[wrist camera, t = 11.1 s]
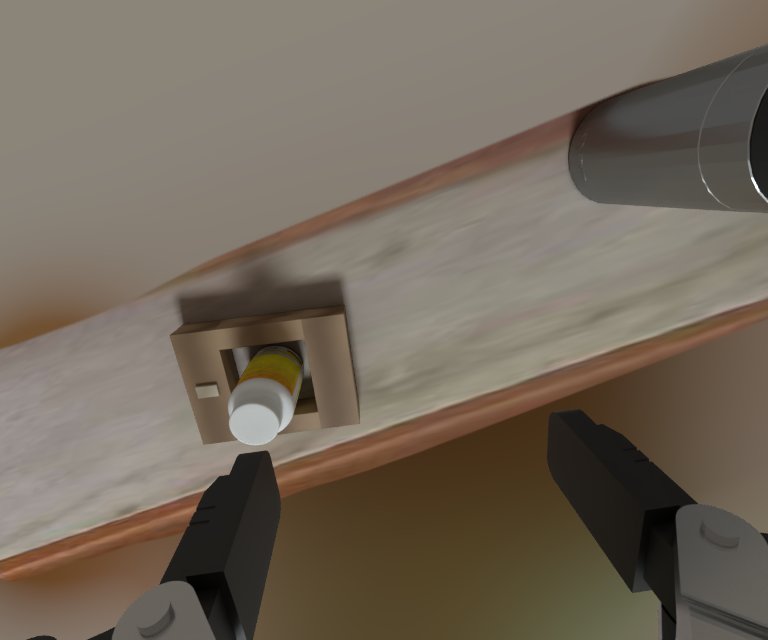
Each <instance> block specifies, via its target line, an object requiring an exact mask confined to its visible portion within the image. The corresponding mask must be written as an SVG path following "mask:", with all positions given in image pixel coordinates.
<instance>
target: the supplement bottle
mask: <svg viewBox="0 0 768 640" xmlns="http://www.w3.org/2000/svg"><path fill="white" fill-rule="evenodd" d="M303 375H304V368H303V364H302V361H301V360H300V358H299V357H298V355H297V354H296V353H295V352H293V351H292V350H290V349H288V348H286V347H282V346H269V347H266V348H263V349H261V350H260V351H258V352H257V353H256V354H255V355H254V356H253V358H252V359H251V361H250V363H249V364H248V366H247V368H246V369H245V371H244V373H243V375H242V376H241V378H240V380H239V382H238V383H237V385H236V386H235V388H234V390H233V392H232V393H231V396H230V398H229V401H228V412H229V416H230V419H229V427H230V430H231V432H232V434H233V435H234V436H235V437H236V438H237V439H238V440H239V441H241V442H243V443H245V444H249V445H261V444H265V443H267V442H269V441H271V440H272V439H273V438H274V437H275V436H276V435H277V433H278V432H280V431H282V430H283V429H284V428H285V427H286V426H287V425H288V424H289V423H290V421H291V419H292V417H293V414H294V411H295V407H296V403H297V399H298V395H299V392H300V388H301V384H302V380H303Z"/></svg>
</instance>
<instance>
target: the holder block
mask: <svg viewBox="0 0 768 640" xmlns="http://www.w3.org/2000/svg"><path fill="white" fill-rule="evenodd" d="M170 339H171V342H172V345H173V348H174V351H175V355H176V358H177V361H178V364H179V368H180V371H181V374H182V377H183V380H184V384H185V387H186V390H187V393H188V396H189V400H190V403H191V406H192V409H193V412H194V416H195V419H196V422H197V425H198V428H199V432H200V435H201V438H202V441H203V444H204V445H205V444H213V443H220V442H227V441H235V440H238V439H237V438H236V437H235V436H234V435H233V434H232V432H231V430H230V427H229V419H230V416H229V412H228V401H229V398H230V396H231V393H232V392H233V390H234V388H235V386H236V385H237V383H238V382H239V376H238V372H237V368H236V364H235V360H234V356H233V352H232V349H231V348H239V347H247V346H255V345H263V344H271V343H279V342H287V341H295V340H303V339H305V344H306V350H307V355H308V360H309V366H310V371H311V376H312V382H313V387H314V392H315V398H309V399H301V400H297V403H296V407H295V411H294V414H293V417H292V419H291V421H290V423H289V424H288V425H287V426H286V427H285V428H284V429H283V430H282V431H280V432H278V433H277V435H279V434H287V433H294V432H302V431H309V430H316V429H324V428H331V427H339V426H346V425H353V424H360V410H359V401H358V395H357V388H356V381H355V374H354V367H353V360H352V353H351V346H350V339H349V333H348V326H347V319H346V312H345V305H339V306H331V307H323V308H315V309H307V310H299V311H290V312H282V313H274V314H266V315H258V316H250V317H241V318H233V319H225V320H217V321H209V322H201V323H192V324H184V325H182V326H181V327H180V328H178V329H177V330H176V331H175V332H173V333H172V334H171V335H170Z"/></svg>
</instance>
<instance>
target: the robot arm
mask: <svg viewBox="0 0 768 640" xmlns="http://www.w3.org/2000/svg"><path fill="white" fill-rule="evenodd" d="M569 169H570V173H571V177H572V180H573V182H574V183H575V185H576V187H577V189H578V190H579V191H580V192H581V193H582V194H583V195H584V196H586V197H587V198H589V199H590V200H592V201H595V202H598V203H605V204H620V205H634V206H651V207H668V208H685V209H703V210H720V211H737V212H759V213H768V44H765V45H763V46H760V47H757V48H754V49H751V50H748V51H745V52H743V53H740V54H737V55H734V56H731V57H728V58H726V59H723V60H720V61H717V62H714V63H711V64H708V65H706V66H703V67H700V68H697V69H694V70H691V71H688V72H686V73H683V74H680V75H677V76H674V77H671V78H668V79H666V80H663V81H660V82H657V83H654V84H651V85H648V86H646V87H642V88H639V89H637V90H634V91H631V92H628V93H625V94H623V95H620V96H617V97H614V98H611V99H609V100H606V101H605V102H603V103H601V104H599V105H598V106H596V107H595V108H594V109H593V110H592V111H591V112H589V113H588V114H587V116H586V117H585V118H584V119H583V121H582V122H581V123H580V125H579V127H578V129H577V130H576V132H575V134H574V137H573V140H572V143H571V146H570V153H569ZM547 460H548V466H549V469H550V472H551V475H552V477H553V479H554V480H555V482H556V484H557V485H558V486H559V488H560V489H561V491H562V492H563V494H564V495H565V496H566V498H567V499H568V501H569V502H570V504H571V505H572V507H573V508H574V509H575V511H576V512H577V514H578V515H579V517H580V518H581V520H582V521H583V523H584V524H585V525H586V527H587V528H588V530H589V531H590V533H591V534H592V536H593V537H594V538H595V540H596V541H597V543H598V544H599V546H600V547H601V549H602V550H603V551H604V553H605V554H606V556H607V557H608V559H609V560H610V562H611V563H612V564H613V566H614V567H615V569H616V570H617V572H618V573H619V575H620V576H621V577H622V579H623V580H624V582H625V583H626V585H627V586H628V588H629V589H630V590H631V592H632V593H635V592H642V591H648V590H652V591H653V592H654V593H655V594H656V596H657V597H658V599H659V600H660V602H659V606H658V639H659V640H768V534H766V533H759V532H758V530H756V529H755V528H754V527H753V526H752V525H750V524H749V523H748V522H746V521H745V520H743V519H742V518H740V517H738V516H736V515H734V514H733V513H731V512H728V511H726V510H723V509H720V508H717V507H714V506H709V505H703V504H698V503H697V502H696V501H694V500H693V499H692V498H691V497H690V496H689V495H688V494H687V493H686V492H685V491H684V490H683V489H681V488H680V487H679V486H678V485H677V484H676V483H675V482H674V481H673V480H671V479H670V478H669V477H668V476H667V475H666V474H665V473H664V472H663V471H662V470H661V469H659V468H658V467H657V466H656V465H655V464H654V463H653V462H650V461H649V459H648V458H647V457H646V456H645V455H644V454H643V453H642V452H641V451H640V450H637V448H636V447H635V446H634V445H633V444H632V443H631V442H630V441H629V440H628V439H627V438H625V437H624V436H623V435H622V434H620V433H618V432H616V431H614V430H613V429H611V428H609V427H607V426H605V425H603V424H600V425H596V424H595V423H594V422H593V421H592V420H591V419H590V418H589V417H588V416H587V415H586V414H585V413H584V412H583V411H582V410H580V409H573V410H566V411H559V412H552V413H551V414H550V416H549V426H548V449H547ZM280 505H281V502H280V494H279V490H278V485H277V481H276V477H275V473H274V469H273V465H272V461H271V457H270V454H269V452H268V451H259V452H252V453H245V454H239V455H238V456H237V458H236V461H235V463H234V465H233V468H232V470H231V472H230V475H225V476H219V477H218V478H217V479H216V480H215V482H214V483H213V484H212V485H211V486H210V487H209V488H208V489H207V490H206V491H205V492H204V494H203V496H202V498H201V500H200V502H199V504H198V506H197V508H196V509H197V511H196V512H195V513H194V515H193V517H192V519H191V521H190V523H189V524H190V525H189V527H187V529H186V531H185V533H184V535H183V537H182V539H181V541H180V543H179V545H178V547H177V549H176V551H175V553H174V556H173V558H172V560H171V562H170V564H169V566H168V568H167V570H166V572H165V574H164V576H163V578H162V580H161V582H160V584H159V585H158V586H156V587H154V588H152V589H151V590H149V591H147V592H146V593H144V594H143V595H142V596H140V597H139V598H138V599H137V600H136V601H135V602H134V603H132V605H131V606H130V607H129V608H128V609H127V610H126V611H125V612H124V614H123V615H122V617H121V618H120V620H119V621H118V623H117V625H116V627H114V628H112V629H110V630H108V631H106V632H104V633H102V634H99V635H97V636H94V637H92V638H90V639H88V640H253V636H254V632H255V627H256V623H257V618H258V614H259V609H260V605H261V600H262V596H263V591H264V587H265V582H266V578H267V573H268V569H269V564H270V560H271V555H272V551H273V546H274V542H275V537H276V533H277V528H278V524H279V519H280V510H281V507H280ZM27 640H56V639H55V638H54V637H51V636H37V637H34V638H30V639H27Z"/></svg>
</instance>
